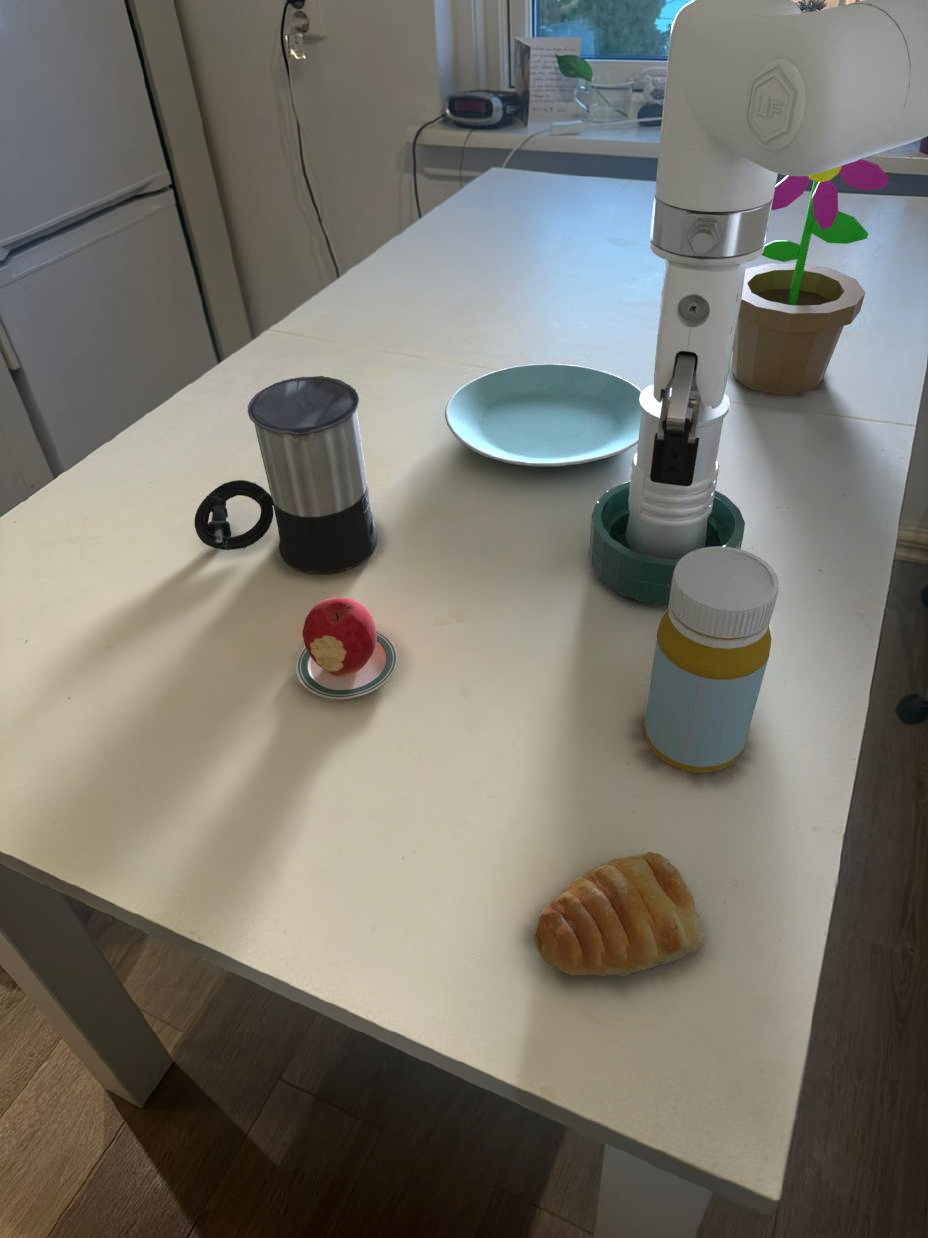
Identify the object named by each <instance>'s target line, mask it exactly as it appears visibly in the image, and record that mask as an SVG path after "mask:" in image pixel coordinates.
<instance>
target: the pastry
mask: <svg viewBox="0 0 928 1238" xmlns="http://www.w3.org/2000/svg"><path fill="white" fill-rule="evenodd" d="M534 944H535V947H536V949H537V952H538V953H539V955H540V956H541V958H542V959H543V960H544V961H545V962H546V963H547V964H549V965H550V966H551V967H552V968H554V969H556V970H557V971H559V972H560V973H563V974H567V975H568V976H570V977H575V976H591V975H594V976H595V975H596V976H602V977H604V976H605V977H606V976H616V977H628V976H630V975H631V974H635V973H640V972H643V971H647V970H648V969H652V968H653V969H654V968H656V967H657V966H661V965H663V964H666V963H671V962H673V961H677V960H680V959H681V958H682V957H684V956H685V955H688V954H691V953H694V952H697V951H699V950H700V949H701V947H702V946H703V944H704V932H703V926H702V921H701V919H700V916H699V914H698V913H697V910H696V905H695V900H694V897H693V895H692V893H691V891H690V889H689V888H688V885H687V883H686V881H685V880H684V877H683V876H682V874H681V872H680V870H679V868H677V867H676V866H675V865H673V864H672V863H671V861H670V860H669V859H668V858H667V857H665V856H664V855H662V854H661V853H658V852H653V851H648V852H647V853H645V854H642V855H635V856H626V857H619V858H614V859H611V860H609V861H608V862H606V863H604V864H602V865H600V866H599V867H595V868H593V869H590V870H589V871H587V872H586V873H585V874H583V875H582V876H579V877H577V878H575V880H574V881H573V882H572V883H571V884H569V885H568V886H567V887H565V888H564V889H563V891H562V892H561V894H560V895H558V896H557V898H556V899H555V900H553V901H552V902H551V903H550V904H548V905H547V906H545V907H544V908H543V909H542V911H541V913H540V915H539V919H538V922H537V926H536V931H535V932H534Z"/></svg>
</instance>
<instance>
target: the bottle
mask: <svg viewBox="0 0 928 1238" xmlns="http://www.w3.org/2000/svg"><path fill="white" fill-rule="evenodd" d="M779 586H780V584H779V578H778V575H777V573H776V572H775V570H774V568H773V567H772V566H771V565H770V564H769V562H767V561H766V560H764V559H763V558H761V557H759V556H758V555H756V554H754V553H752V552H749V551H746V550H744V549H742V548H741V549H737V548H731V547H721V546H715V547H705V548H701V549H697V550H694V551H692V552H690V553H688V554H686V555H685V556H683V557H682V558H681V559H680V560H679V562H678V563H677V565H676V568H675V569H674V572H673V578H672V585H671V591H670V600H669V605H668V607H667V608H666V610H665V611H664V612H663V615H662V616H661V617H660V621H659V624H658V629H657V633H656V638H655V639H656V640H655V645H654V646H655V647H654V653H653V659H652V665H651V666H652V667H651V674H650V681H649V687H648V692H647V693H648V694H647V702H646V708H645V714H644V723H643V731H644V737H645V741H646V742H647V744H648V746H649V748H650V750H651V751H652V752H653V753H654V754H656V756H657V757H659V758H660V759H661V760H662V761H663V762H665V763H667V764H669V765H671V766H672V767H674V768H677V769H678V770H681V771H685V772H691V773H713V772H716V771H719V770H723V769H727V767H729V766H731V765H732V764H733V763H735V762H736V761H737V760H739V758H740V756H741V754H742V753H743V750H744V749H745V745H746V742H747V740H748V739H747V738H748V735H749V732H750V728H751V725H752V721H753V717H754V713H755V709H756V707H757V706H756V705H757V702H758V699H759V695H760V691H761V688H762V683H763V681H764V680H763V679H764V676H765V672H766V669H767V665H768V661H769V657H770V654H771V653H770V652H771V647H772V641H773V640H772V639H773V638H772V634H771V629H770V624H771V620H772V616H773V614H774V610H775V606H776V603H777V600H778V594H779V590H780V587H779Z"/></svg>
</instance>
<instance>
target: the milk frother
mask: <svg viewBox="0 0 928 1238" xmlns="http://www.w3.org/2000/svg"><path fill="white" fill-rule="evenodd" d="M359 405H360V396H359V393H358V392H357V390H356V388H354V387H353V386H352V385H351V384H349V383H347V382H345V381H343V380H341V379H338V378H334V377H330V376H324V375H318V376H317V375H315V376H298V377H294V378H293V377H292V378H288V379H284V380H281V381H278V382H274V383H273V384H271V385H268V386H267V387H265V388H263V389H261V390H260V391H258V392H257V393H256V394H255V395H253V397H252V398H251V399H250V401H249V403H248V404H247V414H248V418H249V420H250V421H251V422H252V423H253V424H254V428H255V433H256V439H257V441H258V445H259V446H258V447H259V451H260V455H261V458H262V463H263V467H264V471H265V476H266V480H267V484H268V488H269V492H268V491H267V490H266V489H265V488H264V487H263V486H262V485H260V484H257V483H256V482H253V481H251V480H250V481H249V480H245V479H236V480H230V481H227V482H224V483H222V484H221V485H219V486H217V487H216V488H214V489H213V490H212V491H210V492H209V494H207V495H206V496H205V498H204V499H202V501H201V503H200V504H199V505H198V507H197V509H196V512H195V515H194V523H193V524H194V529H195V532H196V535H197V536H198V538H199V540H200V541H201V542H202V543H203V544H205V545H206V546H208V547H210V548H212V549H217V550H223V551H224V550H226V551H228V550H229V551H230V550H240V549H244V548H247V547H250V546H252V545H254V544H255V543H256V542H258V541H259V540H261V539H262V538H263V537H264V536H266V535H265V534H266V533H267V532H268V531H269V529H270V527H271V525H272V523H273V519H274V516H275V520H276V526H277V531H278V536H279V542H278V551H279V554H280V556H281V558H282V560H283V561H284V562H285V563H286V564H287V565H288V566H290V567H291V568H293V569H294V570H296V571H299V572H303V573H307V574H313V575H314V574H315V575H316V574H317V575H327V574H328V575H329V574H335V573H341V572H344V571H347V570H350V569H352V568H355V567H356V566H358V565H360V564H361V563H363V562H365V561H366V560H367V559H369V558H370V557H371V555H372V554H373V553H374V551H375V550H376V548H377V546H378V542H379V533H378V530H377V528H376V525H375V520H374V515H373V512H372V508H371V501H370V491H369V486H368V480H367V473H366V472H367V471H366V464H365V458H364V457H365V456H364V451H363V444H362V436H361V430H360V424H359V416H358V407H359ZM238 496H242V497H247V498H249V499H252V500H254V501H255V502H256V503H257V504H258V506H259V508H260V515H259V518H258V520H257V522H256V523H255V524H254V525H253V526H252V527H251V528H250V529H249V530H247V531H245V532H244V533H241V534H238V535H235V536H232V530H231V524H230V522H229V521H227V518H228V517H229V513H228V509H227V501H228V500H230V499H233V498H235V497H238ZM211 513H212V514H211ZM210 514H211V515H210ZM210 516H211V521H210Z"/></svg>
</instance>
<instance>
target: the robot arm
mask: <svg viewBox="0 0 928 1238" xmlns="http://www.w3.org/2000/svg"><path fill="white" fill-rule="evenodd" d="M669 35H670V36H669V43H668V52H667V53H668V54H667V64H666V74H665V84H664V93H663V94H664V95H663V106H662V116H661V125H660V126H661V127H660V135H659V146H658V156H657V168H656V177H655V189H654V196H653V197H654V198H653V206H652V215H651V227H650V237H649V249H650V250H651V252H652V253H653V254H654V255H655V256H657V257H659V258H661V259H663V260H665V261H664V267H663V268H664V270H663V277H662V286H661V293H660V294H661V295H660V305H659V313H658V315H659V316H658V323H657V334H656V335H657V336H656V346H655V358H654V359H655V361H654V374H653V384H654V389H653V396H654V398H655V399H656V400H657V401H658V402H659V403H661V401H662V407H661V414H660V420H659V427H658V433H656V434H655V439H654V448H653V456H652V465H651V473H650V480H651V481H652V482H655V483H663V484H671V485H679V486H686V487H688V486H690V485H691V484H692V482H693V476H694V470H695V463H696V457H697V451H698V444H699V438H696V433H697V427H698V421H699V415H700V410H701V406H702V404H703V406H712V409H715V408H717V407H718V406H719V405H720V404H721V403H722V401H723V397H724V393H726V392H725V391H726V387H727V382H728V377H729V371H730V366H731V362H732V355H733V344H734V339H735V333H736V328H737V322H738V315H739V310H740V304H741V298H742V291H743V284H744V277H745V269H747V268H746V267H747V263H749V262H753V261H755V260H756V259H758V258H759V257H761V256H762V255H761V254H762V253H763V252H764V248H765V245H766V242H767V236H768V230H769V225H770V219H771V213H772V211H771V209H772V203H773V196H774V191H775V185H777V179H778V175H781V176H782V175H783V176H806V175H812V174H816V173H820V172H823V171H827V170H830V169H833V168H836V167H839V166H842V165H845V164H848V163H852V162H855V161H857V160H859V159H864V158H867V157H870V156H873V155H876V154H880V153H882V152H886V151H888V150H891V149H895V148H899V147H902V146H905V145H906V146H907V145H908V144H911V143H914V142H917V141H919V140H923V139H925V138H927V137H928V0H860V1H854V2H851V3H847V4H844V5H840V6H835V7H829V8H823V9H820V10H815V11H809V12H802V10H801V8H800V7H799V6H798V5H797V3H796V2H795V1H793V0H692V1H690V2H688V3H686V4H685V5H684V6H683V7H681V8H680V10H679V11H678V12H677V14H676V15H675V18H674V20H673V22H672V25H671V30H670V34H669ZM670 388H672V393H671V396H669V395H670ZM691 390H692V391H698V394H697V399H694V398H690V392H691ZM688 408H693V411H692V417H691V423H690V419H687V418H686V417H687V409H688Z"/></svg>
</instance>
